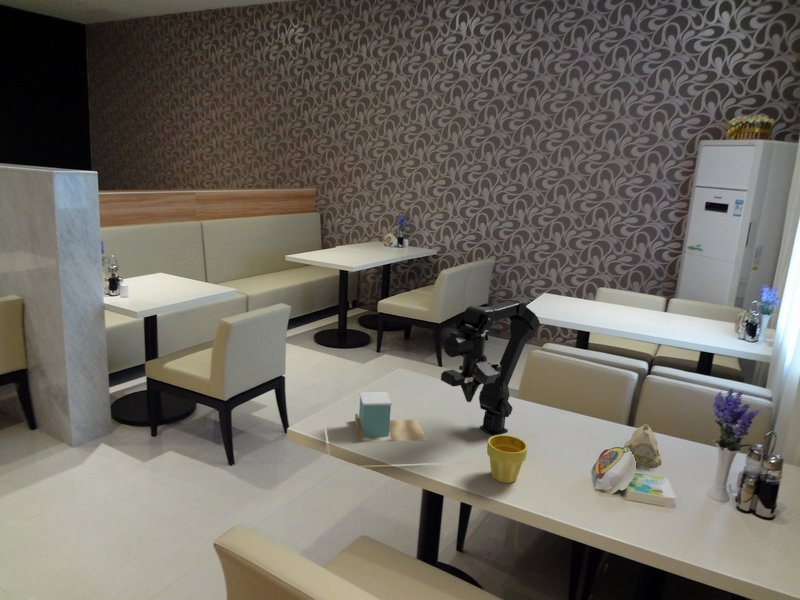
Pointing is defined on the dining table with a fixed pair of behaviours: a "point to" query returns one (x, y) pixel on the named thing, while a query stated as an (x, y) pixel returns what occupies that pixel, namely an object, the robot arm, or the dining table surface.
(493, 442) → the plant pot
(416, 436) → the plinth board
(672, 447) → the dining table surface
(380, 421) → the tin
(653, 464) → the ceramic model
